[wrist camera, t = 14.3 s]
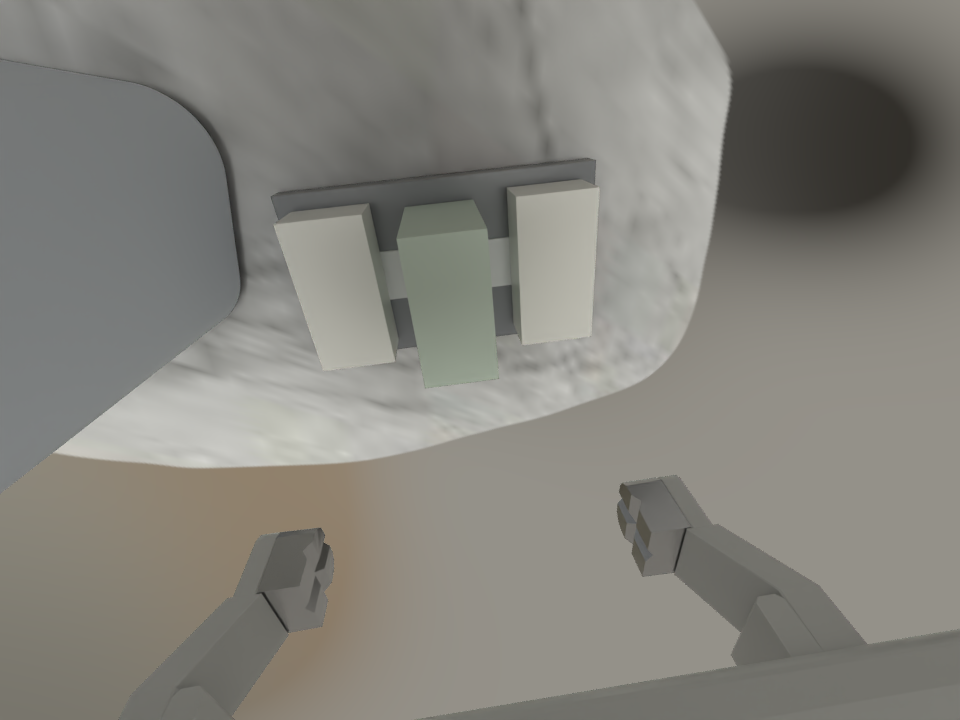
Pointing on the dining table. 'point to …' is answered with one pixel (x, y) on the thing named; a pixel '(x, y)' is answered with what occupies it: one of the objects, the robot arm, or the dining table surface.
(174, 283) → the plastic bottle
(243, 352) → the dining table surface
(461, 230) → the block
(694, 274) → the dining table surface
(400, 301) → the board
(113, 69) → the dining table surface
